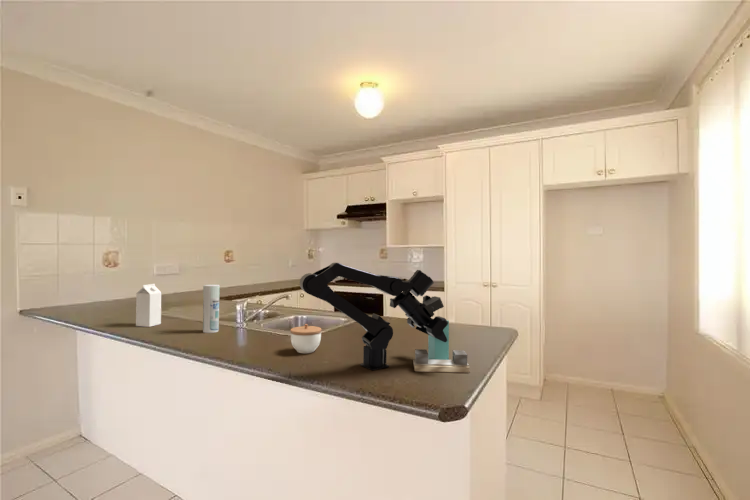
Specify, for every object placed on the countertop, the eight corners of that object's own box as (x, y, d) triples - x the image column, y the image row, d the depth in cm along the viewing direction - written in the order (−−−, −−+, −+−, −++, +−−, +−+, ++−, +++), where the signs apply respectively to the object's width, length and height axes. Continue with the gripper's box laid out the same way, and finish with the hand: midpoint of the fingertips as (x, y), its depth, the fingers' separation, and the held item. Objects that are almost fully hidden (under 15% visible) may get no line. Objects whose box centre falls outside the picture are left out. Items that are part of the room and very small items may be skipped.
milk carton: (135, 326, 168) (136, 284, 169) (147, 323, 175) (148, 283, 176) (149, 327, 167) (150, 285, 167) (161, 324, 174) (161, 283, 174)
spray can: (208, 329, 163) (209, 284, 164) (222, 330, 162) (222, 284, 162) (199, 332, 157) (199, 285, 157) (212, 333, 156) (213, 285, 156)
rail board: (414, 371, 109) (414, 354, 109) (413, 364, 116) (413, 348, 116) (469, 372, 108) (469, 355, 108) (464, 365, 115) (465, 349, 115)
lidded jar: (327, 350, 131) (327, 323, 131) (305, 357, 122) (305, 328, 122) (306, 345, 137) (306, 320, 137) (283, 351, 128) (284, 324, 129)
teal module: (434, 362, 117) (435, 321, 117) (428, 359, 121) (428, 319, 122) (448, 361, 119) (448, 320, 119) (441, 357, 123) (441, 318, 123)
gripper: (442, 291, 110) (474, 326, 114) (415, 285, 128) (443, 316, 131) (418, 319, 107) (451, 354, 111) (394, 309, 125) (423, 340, 129)
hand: (442, 339), depth 121 cm, fingers closed on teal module, 5 cm apart
